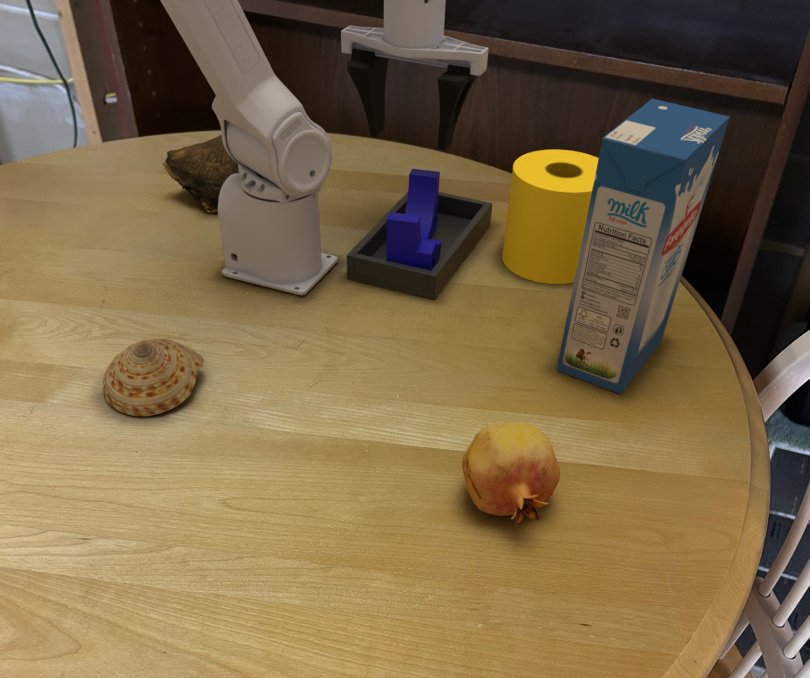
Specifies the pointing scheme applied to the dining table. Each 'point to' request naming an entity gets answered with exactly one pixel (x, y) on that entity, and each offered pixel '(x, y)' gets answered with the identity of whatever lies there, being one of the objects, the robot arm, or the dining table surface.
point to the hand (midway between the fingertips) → (410, 139)
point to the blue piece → (416, 224)
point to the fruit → (510, 469)
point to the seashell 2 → (202, 170)
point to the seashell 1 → (151, 377)
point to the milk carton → (637, 239)
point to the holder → (455, 229)
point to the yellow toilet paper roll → (548, 214)
